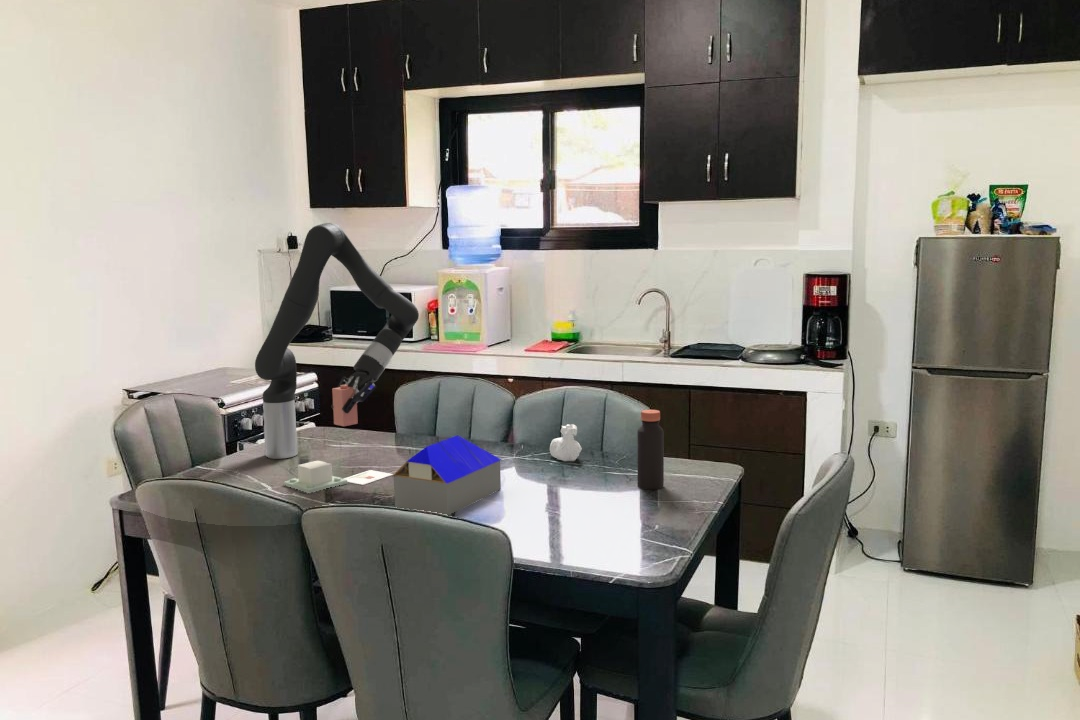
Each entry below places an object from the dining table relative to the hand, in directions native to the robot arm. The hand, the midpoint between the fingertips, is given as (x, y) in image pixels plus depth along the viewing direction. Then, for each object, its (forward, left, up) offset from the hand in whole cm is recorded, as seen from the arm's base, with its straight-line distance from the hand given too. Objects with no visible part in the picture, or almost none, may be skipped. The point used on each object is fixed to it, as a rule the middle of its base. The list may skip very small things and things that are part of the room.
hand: (339, 410), depth 235 cm
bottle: (+70, +47, -19) cm, 87 cm away
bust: (+34, +55, -19) cm, 68 cm away
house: (+37, +7, -19) cm, 42 cm away
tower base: (0, -9, -19) cm, 21 cm away
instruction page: (+5, +4, -19) cm, 20 cm away
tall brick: (0, +2, -4) cm, 5 cm away
